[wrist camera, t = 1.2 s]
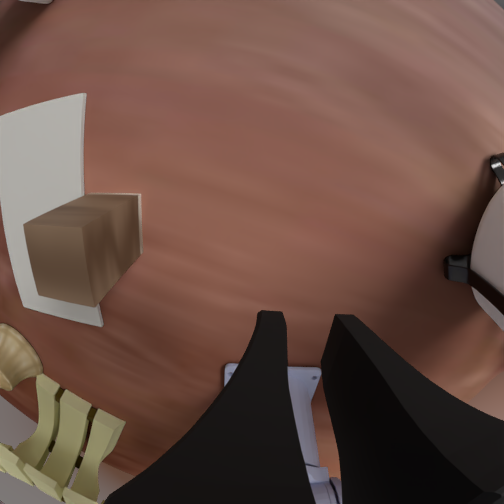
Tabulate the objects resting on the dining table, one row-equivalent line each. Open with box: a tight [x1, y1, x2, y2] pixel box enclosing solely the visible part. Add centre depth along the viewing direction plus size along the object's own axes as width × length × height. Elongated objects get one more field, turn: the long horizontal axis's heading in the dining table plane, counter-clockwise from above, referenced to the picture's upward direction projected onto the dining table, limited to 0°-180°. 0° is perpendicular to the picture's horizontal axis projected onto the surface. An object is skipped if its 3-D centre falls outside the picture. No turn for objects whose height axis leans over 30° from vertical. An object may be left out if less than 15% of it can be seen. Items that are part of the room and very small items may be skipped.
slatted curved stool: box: [0, 373, 126, 504], centre depth 20 cm, size 30×16×18 cm, turn 60°
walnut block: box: [23, 193, 143, 308], centre depth 14 cm, size 4×4×7 cm
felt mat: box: [0, 93, 104, 327], centre depth 17 cm, size 18×10×1 cm, turn 175°
